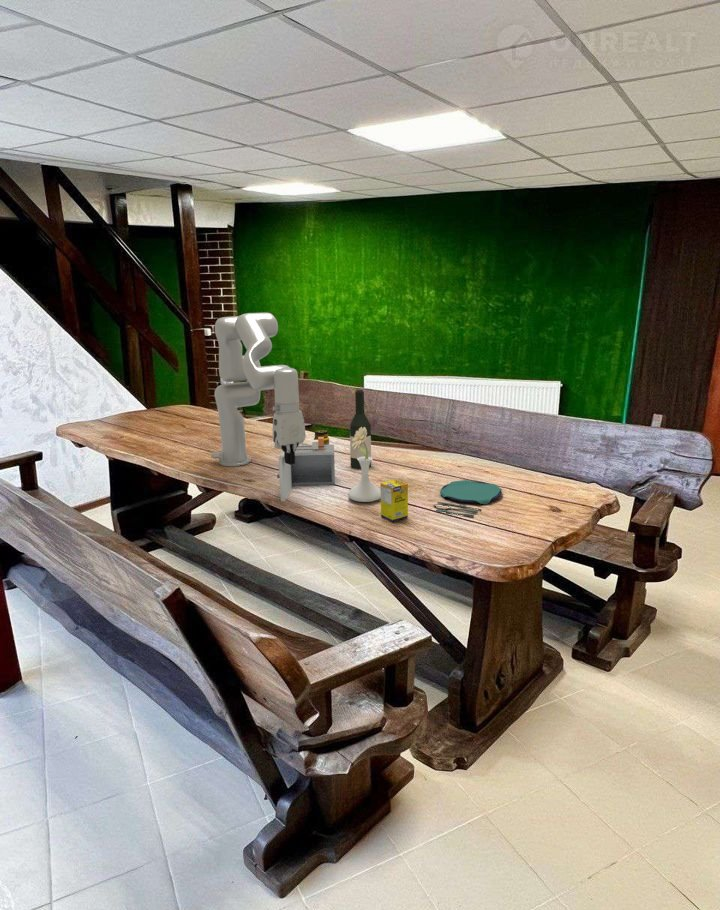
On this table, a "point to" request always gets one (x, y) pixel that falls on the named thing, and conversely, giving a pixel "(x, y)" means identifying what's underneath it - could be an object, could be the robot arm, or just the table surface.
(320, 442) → the fader
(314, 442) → the fader
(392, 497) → the supplement box
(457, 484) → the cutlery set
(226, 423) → the robot arm
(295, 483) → the white slider console
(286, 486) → the door
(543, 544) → the table surface
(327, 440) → the condiment
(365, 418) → the wine bottle
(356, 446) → the flower in vase
